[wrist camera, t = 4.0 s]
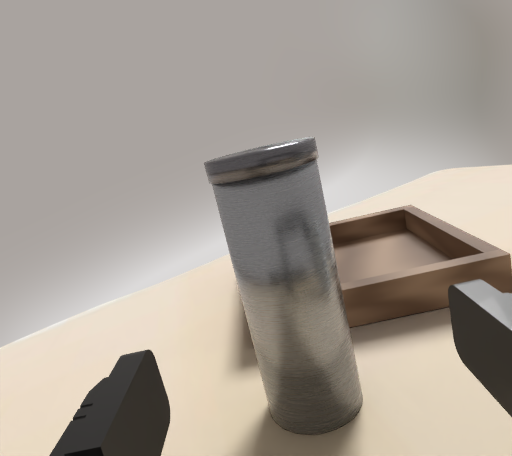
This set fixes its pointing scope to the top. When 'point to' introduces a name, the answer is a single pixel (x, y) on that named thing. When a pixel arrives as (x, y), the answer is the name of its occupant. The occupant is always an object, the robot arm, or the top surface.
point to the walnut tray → (409, 263)
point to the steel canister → (289, 282)
